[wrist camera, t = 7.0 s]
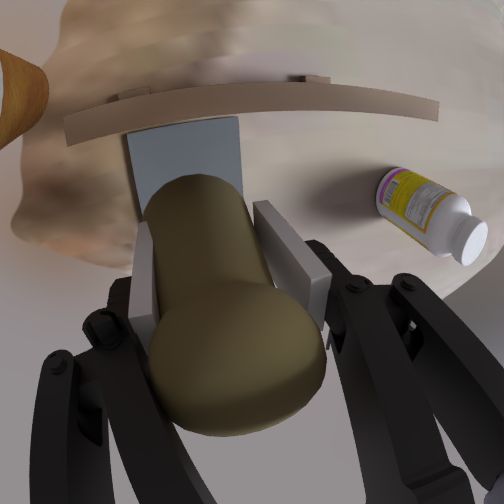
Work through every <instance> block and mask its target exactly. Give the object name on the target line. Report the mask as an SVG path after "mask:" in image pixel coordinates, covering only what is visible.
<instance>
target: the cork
mask: <svg viewBox="0 0 504 504" xmlns="http://www.w3.org/2000/svg"><path fill="white" fill-rule="evenodd" d="M145 221H147V224H148V227H149V231H150V234H151V237H152V240H153V255H154V272H155V282H156V291H157V299H158V307H159V314H160V322H159V324H158V325H157V327H156V329H155V330H154V332H153V335H152V339H151V342H150V345H149V353H148V381H149V383H150V385H151V387H152V390H153V392H154V395H155V397H156V399H157V401H158V403H159V404H160V406H161V407H162V409H163V410H164V412H165V414H166V415H167V416H168V417H169V419H170V420H171V421H172V422H173V423H175V424H177V425H178V426H180V427H181V428H183V429H185V430H188V431H192V432H195V433H198V434H202V435H206V436H217V437H228V436H238V435H245V434H248V433H253V432H257V431H261V430H263V429H266V428H269V427H271V426H274V425H276V424H279V423H280V422H282V421H284V420H286V419H287V418H289V417H291V416H293V415H294V414H296V413H297V412H298V411H299V410H301V409H302V408H303V407H304V406H306V405H307V403H308V402H309V401H310V400H311V398H312V397H313V396H314V395H315V394H316V392H317V391H318V390H319V389H320V387H321V385H322V382H323V379H324V377H325V372H326V363H327V356H326V352H325V347H324V342H323V339H322V335H321V332H320V328H319V327H318V325H317V324H316V322H315V321H314V319H313V318H312V316H311V315H310V314H309V313H308V312H307V311H306V310H305V309H304V308H303V306H302V305H301V304H300V303H299V302H298V301H296V300H295V299H294V298H293V297H292V296H290V295H289V294H288V293H287V292H285V291H283V290H280V289H278V288H275V285H274V282H273V279H272V276H271V274H270V271H269V268H268V265H267V262H266V259H265V257H264V254H263V251H262V248H261V245H260V242H259V240H258V237H257V234H256V231H255V228H254V226H253V223H252V220H251V217H250V214H249V212H248V209H247V206H246V204H245V201H244V198H243V197H242V196H241V194H240V193H239V192H238V191H237V190H236V189H235V187H234V186H233V185H231V184H230V183H228V182H226V181H224V180H223V179H221V178H219V177H216V176H211V175H206V174H192V175H184V176H180V177H178V178H176V179H174V180H172V181H170V182H168V183H165V184H164V185H163V186H162V187H161V188H160V189H159V190H158V191H157V192H156V193H154V194H153V195H152V196H151V198H150V200H149V202H148V204H147V206H146V208H145V210H144V211H143V218H142V222H145Z"/></svg>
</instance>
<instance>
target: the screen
mask: <svg viewBox="0 0 504 504" xmlns="http://www.w3.org/2000/svg"><path fill="white" fill-rule="evenodd" d="M295 110H320V111H349V112H365V113H377V114H388V115H397V116H405V117H412V118H419V119H426V120H432V121H437V122H438V113H439V102H438V101H434V100H430V99H426V98H421V97H417V96H412V95H407V94H402V93H397V92H391V91H385V90H379V89H372V88H365V87H357V86H348V85H337V84H330V77H318V76H300V82H250V83H231V84H218V85H208V86H199V87H190V88H183V89H176V90H169V91H163V92H158V93H152V94H150V88H149V87H143V88H139V89H134V90H129V91H125V92H121V93H118V101H115V102H111V103H107V104H104V105H100V106H96V107H93V108H89V109H86V110H83V111H79V112H76V113H73V114H70V115H67V116H64V117H62V118H63V124H64V130H65V136H66V141H67V146H72V145H75V144H78V143H81V142H85V141H88V140H92V139H95V138H99V137H103V136H107V135H111V134H115V133H119V132H123V131H127V130H132V129H136V128H141V127H146V126H151V125H156V124H162V123H167V122H173V121H179V120H186V119H193V118H200V117H208V116H216V115H226V114H236V113H249V112H265V111H295Z"/></svg>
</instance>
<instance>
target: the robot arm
mask: <svg viewBox="0 0 504 504" xmlns="http://www.w3.org/2000/svg"><path fill="white" fill-rule="evenodd" d="M253 215H254V228H255V231H256V234H257V237H258V240H259V242H260V245H261V248H262V251H263V254H264V257H265V259H266V262H267V265H268V268H269V271H270V274H271V276H272V279H273V281H274V282H275V284H276V286H277V288H278V289H280V290H283V291H285V292H287V293H288V294H289V295H290V296H292V297H293V298H294V299H295V300H296V301H298V302H299V303H300V304H301V305H302V306H303V308H304V309H305V310H306V311H307V312H308V313H309V314H310V315H311V316H312V318H313V319H314V321H315V322H316V324H317V325H318V327H319V328H320V331H323V327H324V321H326V322H327V324H328V326H329V327H330V330H329V335H328V339H327V344H326V350H329V347H330V343H331V347H332V351H333V354H334V358H335V362H336V365H337V369H338V373H339V377H340V381H341V385H342V389H343V392H344V397H345V400H346V405H347V409H348V413H349V417H350V421H351V426H352V430H353V434H354V439H355V443H356V448H357V453H358V457H359V462H360V467H361V472H362V477H363V483H364V488H365V493H366V504H475V502H474V497H473V493H472V489H471V485H470V482H469V479H468V476H467V474H466V472H465V471H464V470H463V469H461V468H460V467H457V466H454V465H452V464H451V463H450V461H449V459H448V456H447V453H446V450H445V447H444V444H443V441H442V438H441V435H440V432H439V429H438V426H437V424H436V421H435V418H434V416H435V417H436V419H437V420H438V422H439V423H440V425H441V426H442V428H443V429H444V431H445V432H446V434H447V435H448V437H449V438H450V440H451V441H452V443H453V445H454V446H455V448H456V449H457V451H458V453H459V454H460V456H461V457H462V459H463V461H464V462H465V464H466V465H467V467H468V469H469V470H470V472H471V473H472V475H473V476H474V478H475V479H476V480H477V481H478V482H479V483H480V484H481V486H482V487H484V488H485V489H486V490H488V491H489V492H488V493H487V494H486V495H485V498H484V504H504V368H503V367H502V366H501V364H500V363H499V362H498V361H497V360H496V358H495V357H494V356H493V355H492V354H491V353H490V351H489V350H488V349H487V348H486V347H485V346H484V344H483V343H482V342H481V341H480V340H479V339H478V338H477V337H476V335H475V334H474V333H473V332H472V331H471V330H470V329H469V328H468V327H467V326H466V325H465V323H464V322H463V321H462V320H461V319H460V318H459V317H458V316H457V315H456V314H455V313H454V312H453V311H452V310H451V309H450V308H449V307H448V306H447V305H446V304H445V303H444V302H443V301H442V300H441V299H440V298H439V297H438V296H437V295H436V294H435V293H434V292H433V291H432V290H431V289H430V288H429V287H428V286H427V285H426V284H425V283H424V282H423V281H422V280H421V279H419V278H418V277H416V276H414V275H412V274H408V273H400V274H397V275H395V276H394V278H393V280H392V283H391V285H373V283H372V282H371V281H370V280H369V279H367V278H366V277H363V276H360V275H352V274H351V273H350V272H349V271H348V270H347V269H346V267H345V266H344V265H343V264H342V263H341V262H340V261H339V260H338V259H337V258H335V256H334V254H333V253H332V252H330V250H329V249H328V248H327V247H326V246H325V245H324V244H322V243H320V242H318V241H316V240H309V241H303V240H302V238H301V237H300V236H299V235H298V234H297V233H296V232H295V230H294V229H293V228H292V227H291V226H290V225H289V224H288V223H287V221H286V220H285V219H284V218H283V217H282V216H281V215H280V214H279V212H278V211H277V210H276V209H275V208H274V207H273V206H272V205H271V204H270V202H269V201H268V200H264V201H257V202H253ZM108 297H109V298H108V302H107V308H102V309H98V310H96V311H94V312H92V313H91V314H90V315H89V316H88V317H87V318H86V320H85V321H84V323H83V328H82V330H83V331H84V333H85V335H86V337H87V338H88V340H89V342H90V343H91V345H92V346H93V347H92V348H91V349H89V350H88V351H85V352H83V353H81V354H79V355H76V356H74V357H73V355H72V354H71V353H70V352H69V351H67V350H57V351H54V352H53V353H51V354H50V355H48V357H47V358H46V359H45V360H44V363H43V365H42V369H41V373H40V379H39V384H38V389H37V395H36V401H35V408H34V415H33V424H32V433H31V446H30V471H29V479H30V481H29V482H30V504H115V499H114V492H113V484H112V475H111V465H110V451H109V433H108V418H109V422H110V425H111V429H112V432H113V435H114V438H115V442H116V445H117V448H118V451H119V454H120V456H121V459H122V462H123V465H124V467H125V470H126V473H127V475H128V478H129V480H130V483H131V485H132V488H133V490H134V492H135V495H136V497H137V499H138V501H139V504H217V503H216V501H215V500H214V498H213V496H212V495H211V493H210V491H209V490H208V488H207V486H206V485H205V483H204V481H203V480H202V478H201V476H200V475H199V473H198V471H197V469H196V467H195V466H194V464H193V462H192V460H191V458H190V456H189V454H188V453H187V451H186V449H185V447H184V445H183V443H182V441H181V439H180V437H179V435H178V433H177V431H176V429H175V426H174V424H173V422H172V421H171V420H170V419H169V417H168V416H167V415H166V414H165V412H164V410H163V409H162V407H161V406H160V404H159V403H158V401H157V399H156V397H155V395H154V392H153V390H152V387H151V385H150V383H149V381H148V353H149V345H150V342H151V339H152V335H153V332H154V330H155V329H156V327H157V325H158V324H159V322H160V314H159V307H158V299H157V291H156V282H155V272H154V255H153V240H152V237H151V234H150V231H149V227H148V224H147V221H145V222H141V223H139V227H138V234H137V240H136V247H135V254H134V262H133V270H132V276H130V277H125V278H119V279H116V280H115V282H114V283H113V284H112V286H111V287H110V291H109V296H108ZM411 321H413V322H414V323H415V324H416V328H415V329H414V328H412V327H411V325H410V324H411ZM433 414H434V415H433Z"/></svg>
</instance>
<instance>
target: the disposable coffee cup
mask: <svg viewBox="0 0 504 504" xmlns="http://www.w3.org/2000/svg"><path fill="white" fill-rule="evenodd" d="M48 95H49V85H48V80H47V77H46V75H45V73H44V72H43V70H41V69H40V68H39V67H38V66H36V65H33V64H31V63H29V62H27V61H25V60H23V59H21V58H19V57H16V56H14V55H12V54H10V53H8V52H6V51H4V50H1V49H0V150H1V149H2V148H3V147H5V146H6V145H7V144H9V143H10V142H11V141H13V140H14V139H16V138H17V137H19V136H20V135H22V134H23V133H24V132H26V131H28V130H29V129H30V128H32V127H33V126H34V125H35V124H36V123H37V122H38V120H39V119H40V117H41V116H42V114H43V112H44V110H45V108H46V104H47V101H48Z"/></svg>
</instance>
